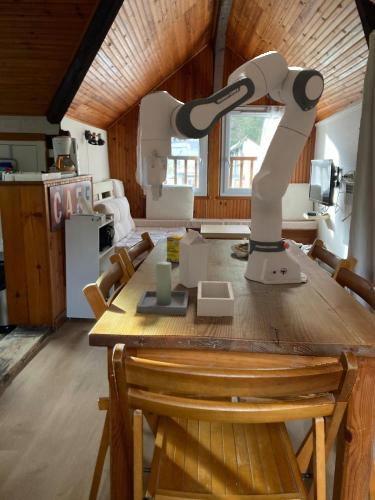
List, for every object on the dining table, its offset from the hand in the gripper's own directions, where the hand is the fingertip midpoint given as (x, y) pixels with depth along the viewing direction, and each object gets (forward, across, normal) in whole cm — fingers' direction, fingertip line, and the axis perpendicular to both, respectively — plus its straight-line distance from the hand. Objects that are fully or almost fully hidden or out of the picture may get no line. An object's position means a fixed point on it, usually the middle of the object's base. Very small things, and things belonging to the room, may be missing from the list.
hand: (157, 198), depth 117 cm
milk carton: (+31, +13, -10) cm, 35 cm away
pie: (+32, +58, -38) cm, 76 cm away
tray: (+31, -7, -2) cm, 32 cm away
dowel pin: (+30, -7, -2) cm, 31 cm away
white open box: (+31, -8, -17) cm, 36 cm away
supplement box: (+31, +44, -3) cm, 54 cm away
